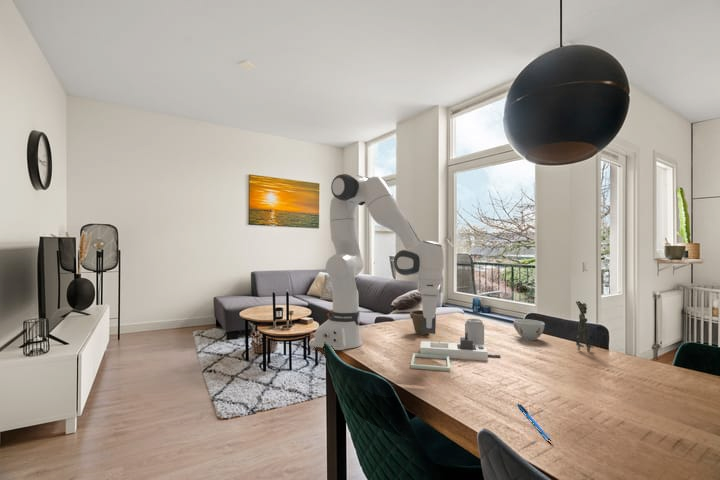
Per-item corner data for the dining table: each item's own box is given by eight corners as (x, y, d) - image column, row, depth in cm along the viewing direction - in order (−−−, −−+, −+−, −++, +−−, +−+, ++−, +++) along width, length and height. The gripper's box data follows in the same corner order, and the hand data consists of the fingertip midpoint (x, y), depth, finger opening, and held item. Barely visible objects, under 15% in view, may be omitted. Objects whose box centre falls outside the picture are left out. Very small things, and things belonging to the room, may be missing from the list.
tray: (410, 370, 120) (410, 364, 120) (413, 358, 132) (413, 353, 132) (450, 373, 117) (450, 367, 117) (449, 361, 130) (449, 355, 130)
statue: (596, 354, 139) (596, 302, 139) (577, 352, 141) (577, 301, 141) (592, 350, 143) (592, 301, 143) (574, 349, 145) (574, 300, 145)
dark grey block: (423, 332, 123) (423, 315, 123) (423, 330, 128) (423, 312, 128) (435, 333, 123) (435, 316, 123) (435, 331, 127) (435, 313, 127)
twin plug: (460, 356, 132) (461, 333, 132) (460, 353, 136) (460, 331, 136) (472, 357, 131) (472, 334, 131) (471, 353, 135) (471, 331, 135)
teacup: (551, 341, 157) (551, 323, 157) (530, 344, 152) (530, 325, 152) (523, 333, 171) (523, 316, 171) (503, 335, 166) (503, 318, 166)
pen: (519, 406, 95) (520, 402, 95) (554, 447, 76) (554, 442, 76) (516, 406, 95) (516, 401, 95) (550, 447, 76) (550, 441, 76)
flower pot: (409, 335, 165) (409, 314, 165) (410, 330, 176) (410, 309, 176) (434, 337, 163) (434, 315, 163) (433, 331, 174) (433, 310, 174)
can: (481, 346, 148) (481, 318, 148) (486, 352, 140) (486, 322, 140) (463, 346, 148) (463, 317, 149) (466, 351, 141) (466, 321, 141)
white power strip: (420, 358, 133) (420, 345, 133) (421, 350, 142) (421, 339, 142) (502, 364, 127) (502, 351, 127) (498, 356, 136) (498, 344, 136)
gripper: (422, 282, 136) (421, 319, 136) (419, 289, 116) (418, 332, 116) (439, 283, 134) (438, 320, 134) (439, 291, 115) (438, 333, 115)
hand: (429, 325), depth 125 cm, fingers closed on dark grey block, 4 cm apart
